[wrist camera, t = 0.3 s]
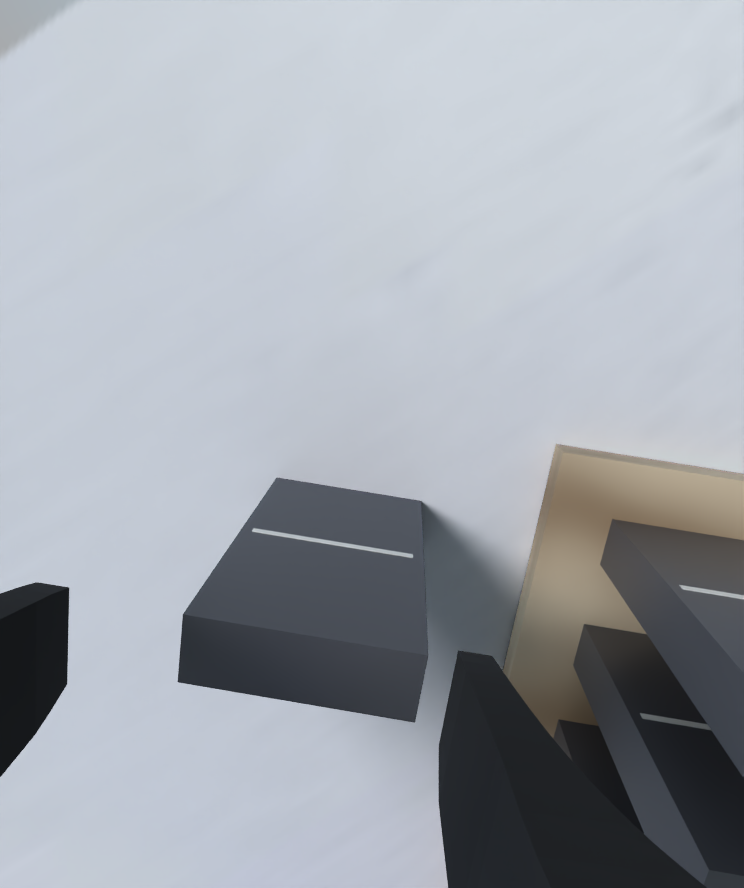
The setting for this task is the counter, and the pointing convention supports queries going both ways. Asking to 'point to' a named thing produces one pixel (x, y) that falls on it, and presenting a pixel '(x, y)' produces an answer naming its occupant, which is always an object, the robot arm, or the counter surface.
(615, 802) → the domino
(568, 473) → the board
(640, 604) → the domino
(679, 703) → the domino
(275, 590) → the domino
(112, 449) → the counter surface
